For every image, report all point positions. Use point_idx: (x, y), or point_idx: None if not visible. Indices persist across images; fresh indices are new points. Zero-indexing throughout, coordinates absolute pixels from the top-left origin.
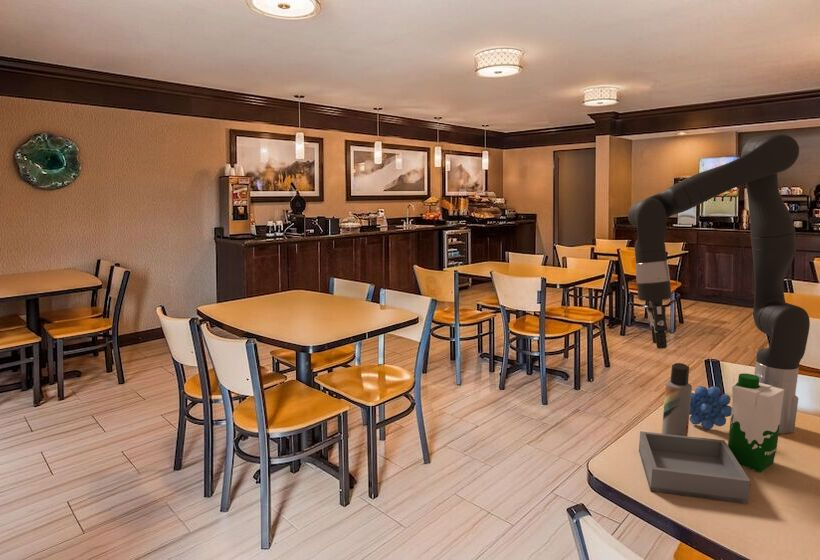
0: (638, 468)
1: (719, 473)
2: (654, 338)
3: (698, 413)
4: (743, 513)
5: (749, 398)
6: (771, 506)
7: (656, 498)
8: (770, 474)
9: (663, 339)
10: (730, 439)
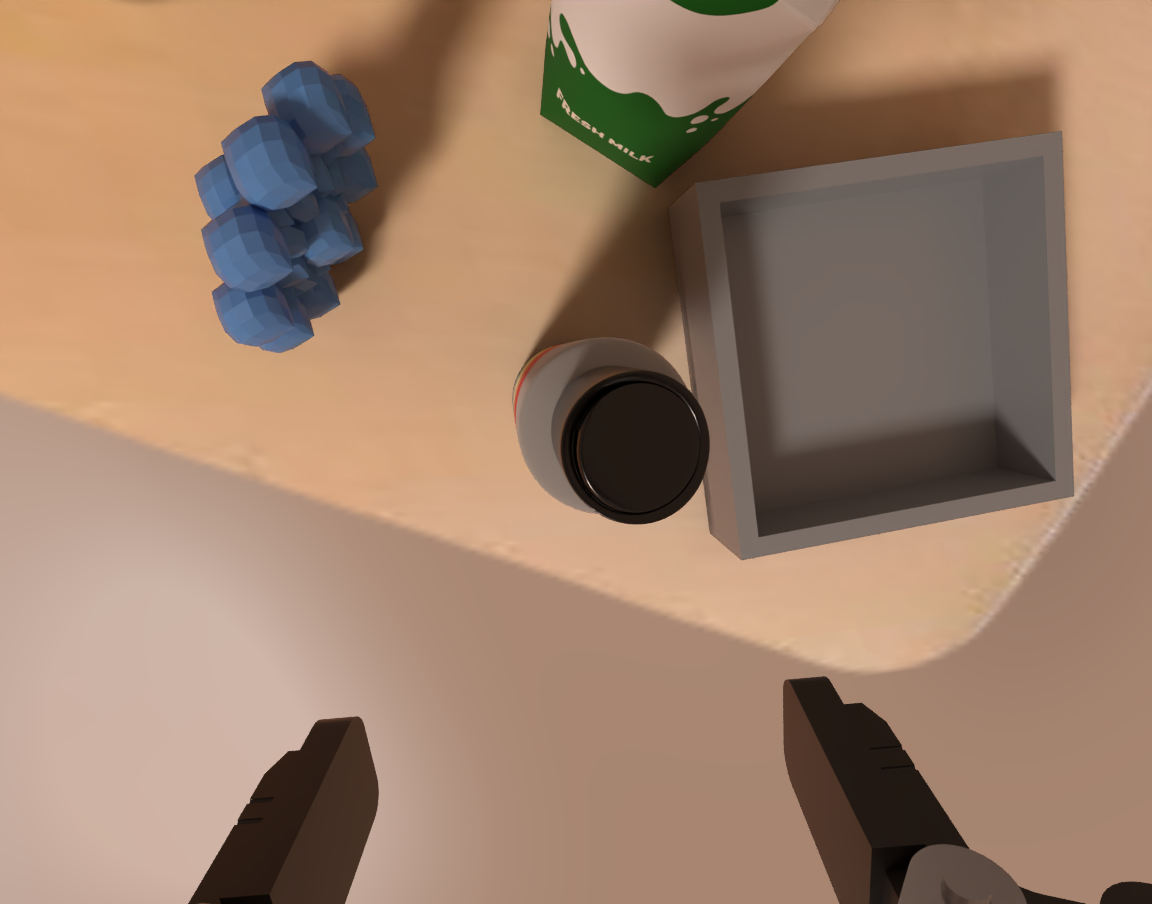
0: None
1: (835, 235)
2: (359, 835)
3: (316, 276)
4: None
5: None
6: (972, 79)
7: None
8: None
9: (922, 790)
10: (680, 151)
